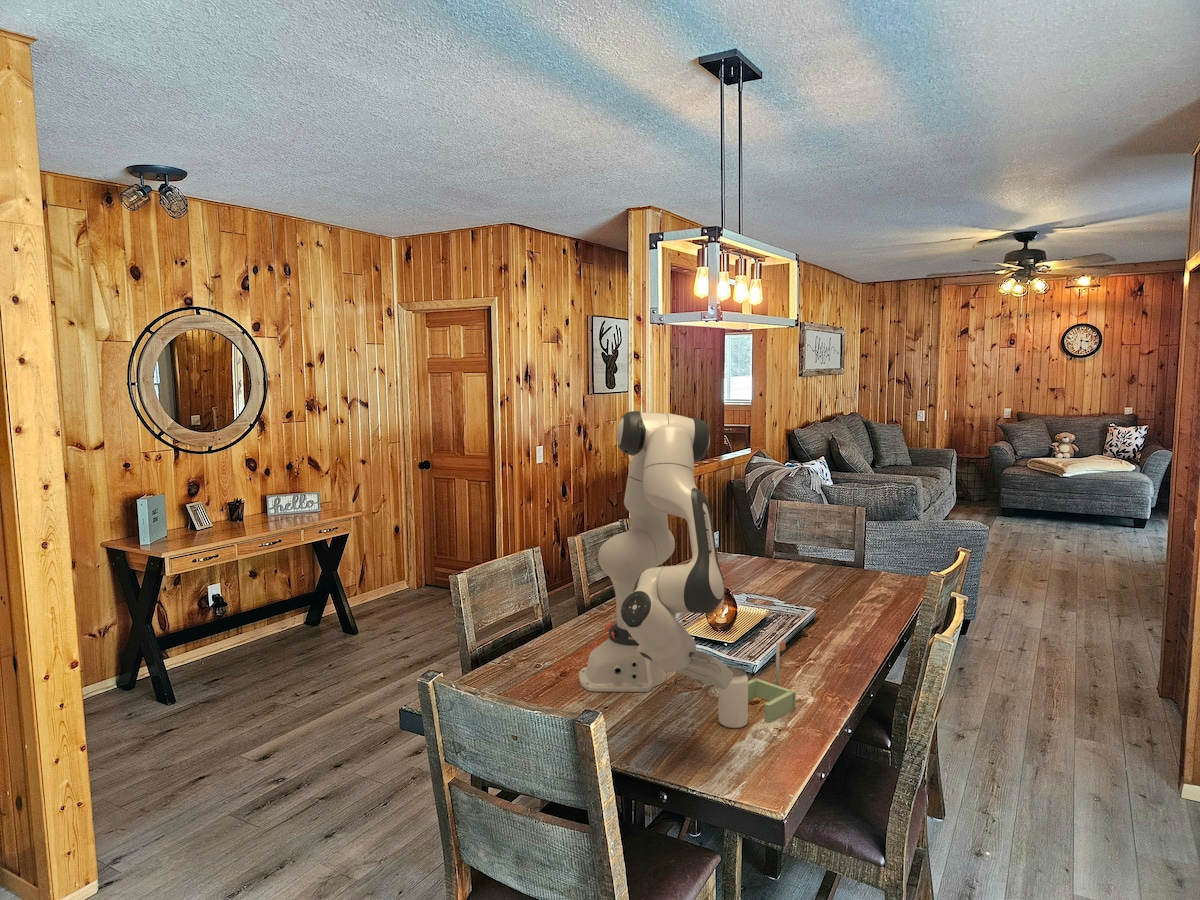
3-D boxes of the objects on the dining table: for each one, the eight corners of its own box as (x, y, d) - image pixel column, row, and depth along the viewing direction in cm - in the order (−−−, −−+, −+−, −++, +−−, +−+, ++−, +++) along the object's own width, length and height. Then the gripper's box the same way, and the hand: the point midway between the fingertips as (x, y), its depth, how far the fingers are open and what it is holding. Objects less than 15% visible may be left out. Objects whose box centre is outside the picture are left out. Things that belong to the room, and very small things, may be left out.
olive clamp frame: (768, 722, 176) (769, 662, 174) (728, 707, 184) (728, 649, 183) (804, 702, 186) (805, 646, 184) (764, 688, 194) (765, 634, 193)
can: (744, 715, 179) (744, 665, 178) (750, 728, 173) (751, 676, 172) (716, 716, 179) (716, 666, 178) (721, 729, 173) (721, 677, 172)
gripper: (720, 647, 154) (750, 681, 161) (644, 624, 168) (675, 656, 176) (706, 675, 151) (736, 708, 159) (630, 649, 166) (661, 680, 173)
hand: (703, 680), depth 167 cm, fingers closed
